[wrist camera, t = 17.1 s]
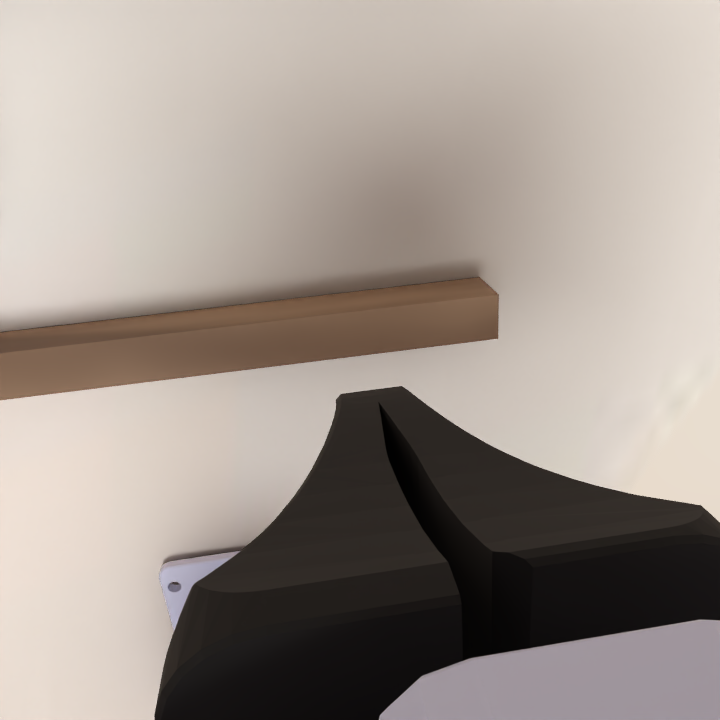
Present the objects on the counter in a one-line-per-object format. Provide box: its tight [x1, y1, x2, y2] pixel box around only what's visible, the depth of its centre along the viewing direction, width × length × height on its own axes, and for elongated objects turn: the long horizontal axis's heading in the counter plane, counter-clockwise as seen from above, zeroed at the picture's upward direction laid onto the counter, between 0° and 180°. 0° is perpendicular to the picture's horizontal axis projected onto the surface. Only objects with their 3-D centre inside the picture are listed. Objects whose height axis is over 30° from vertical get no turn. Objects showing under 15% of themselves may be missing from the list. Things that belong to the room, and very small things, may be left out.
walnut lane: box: [0, 277, 499, 400], centre depth 17 cm, size 13×28×2 cm, turn 94°
